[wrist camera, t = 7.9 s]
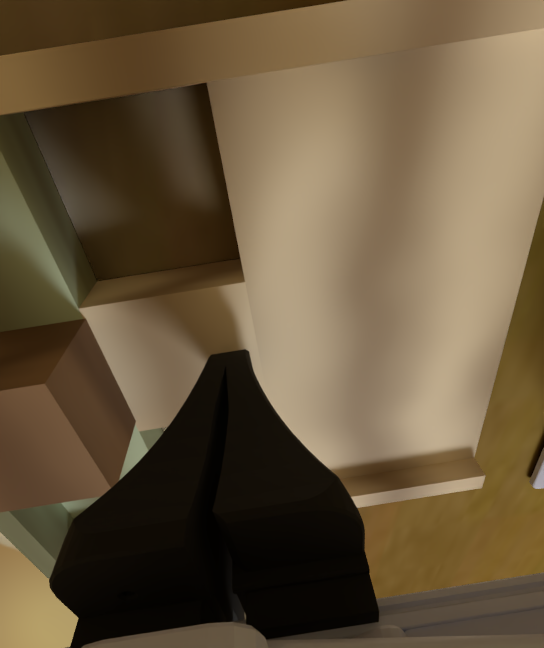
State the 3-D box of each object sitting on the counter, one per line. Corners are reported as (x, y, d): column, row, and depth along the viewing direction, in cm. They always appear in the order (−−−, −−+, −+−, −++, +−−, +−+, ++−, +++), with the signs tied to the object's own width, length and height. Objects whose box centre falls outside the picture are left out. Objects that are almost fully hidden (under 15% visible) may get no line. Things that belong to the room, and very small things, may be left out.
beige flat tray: (543, -15, 10) (696, -64, 7) (451, 438, 21) (493, 507, 17) (-211, 105, 10) (-428, 116, 7) (78, 498, 21) (48, 578, 17)
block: (85, 318, 12) (44, 383, 10) (136, 421, 15) (114, 494, 12) (-64, 342, 12) (-146, 413, 10) (14, 440, 15) (-34, 517, 12)
